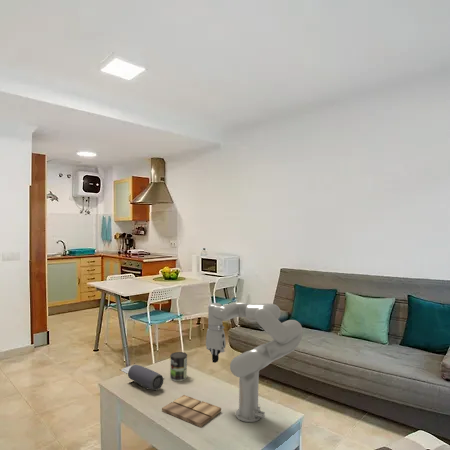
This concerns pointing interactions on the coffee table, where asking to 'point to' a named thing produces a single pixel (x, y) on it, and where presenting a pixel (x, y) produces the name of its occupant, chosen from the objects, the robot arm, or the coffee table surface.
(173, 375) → the coffee can
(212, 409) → the plank near
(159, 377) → the bluetooth speaker
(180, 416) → the floor plank
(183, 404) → the plank far
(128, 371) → the baseboard molding
